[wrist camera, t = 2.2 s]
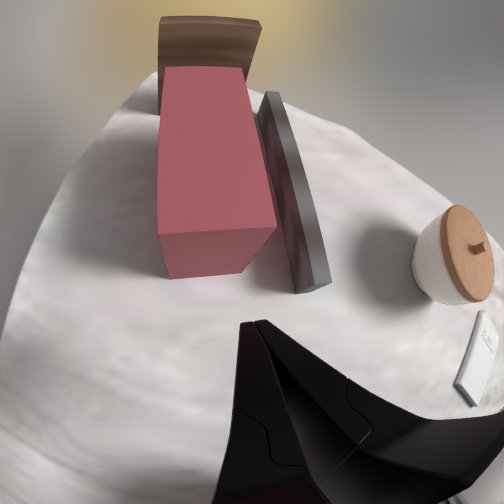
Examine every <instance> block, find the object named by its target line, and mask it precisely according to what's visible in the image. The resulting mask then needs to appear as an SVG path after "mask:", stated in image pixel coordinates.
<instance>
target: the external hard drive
mask: <svg viewBox="0 0 504 504" xmlns="http://www.w3.org/2000/svg"><path fill="white" fill-rule="evenodd" d="M498 341H499V335H498V333H497V331H496V330H495V328H494V326H493V324H492V322H491V321H490V319H489V317H488V315H487V314H486V312H485V311H484V310H480V311H479V315H478V318H477V322H476V325H475V329H474V332H473V335H472V339H471V342H470V345H469V348H468V351H467V354H466V356H465V359H464V362H463V364H462V367H461V370H460V372H459V375H458V377H457V380H456V382H455V384H456V386H457V387H458V388H459V389H460V391H461V392H462V393H463V394H464V396H465V397H466V398H467V399H468V401H469V402H470V403H471V404H472V406H478V403H479V401H480V398H481V396H482V393H483V390H484V387H485V385H486V382H487V379H488V376H489V373H490V370H491V367H492V363H493V360H494V356H495V353H496V349H497V345H498Z"/></svg>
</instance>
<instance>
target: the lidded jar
mask: <svg viewBox="0 0 504 504" xmlns="http://www.w3.org/2000/svg"><path fill="white" fill-rule="evenodd" d="M412 271H413V275H414V278H415V281H416V283H417V285H418V286H419V288H420V289H421V290H422V291H423V292H424V293H426V294H427V295H428V296H429V297H430V298H432V299H433V300H435V301H436V302H439V303H441V304H445V305H464V304H469V303H475V302H481V301H483V300H485V299H486V298H487V297H488V296H489V294H490V293H491V290H492V287H493V283H494V260H493V254H492V250H491V246H490V243H489V240H488V238H487V235H486V233H485V231H484V229H483V227H482V225H481V224H480V222H479V220H478V219H477V218H476V217H475V215H474V214H473V213H472V212H471V211H470V210H468V209H467V208H466V207H464V206H461V205H454V206H452V207H450V208H449V209H447V210H446V211H445V212H444V213H443V214H441V215H440V216H438V217H437V218H435V219H434V220H433V221H432V222H430V223H429V224H428V225H427V226H426V228H425V229H424V230H423V231H422V233H421V234H420V236H419V238H418V240H417V243H416V246H415V251H414V254H413V258H412Z"/></svg>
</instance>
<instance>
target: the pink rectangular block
mask: <svg viewBox="0 0 504 504" xmlns="http://www.w3.org/2000/svg"><path fill="white" fill-rule="evenodd" d="M157 225H158V237H159V241H160V245H161V249H162V253H163V256H164V260H165V263H166V267H167V271H168V274H169V277H170V279H181V278H193V277H204V276H215V275H226V274H236V273H242V271H243V270H244V269H245V268H246V266H247V265H248V264H249V262H250V261H251V260H252V259H253V257H254V256H255V255H256V253H257V252H258V251H259V250H260V248H261V247H262V246H263V245H264V243H265V242H266V241H267V239H268V238H269V237H270V236H271V234H272V233H273V232H274V230H275V229H276V228H277V222H276V217H275V212H274V207H273V202H272V198H271V193H270V188H269V183H268V179H267V174H266V169H265V165H264V160H263V156H262V151H261V147H260V142H259V138H258V133H257V129H256V125H255V120H254V116H253V112H252V108H251V104H250V99H249V95H248V91H247V87H246V83H245V79H244V75H243V71H242V68H235V67H214V66H179V67H165V75H164V83H163V92H162V103H161V114H160V127H159V144H158V170H157Z"/></svg>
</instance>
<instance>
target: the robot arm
mask: <svg viewBox="0 0 504 504" xmlns="http://www.w3.org/2000/svg"><path fill="white" fill-rule="evenodd" d="M211 504H504V407H503V408H502V409H501V410H500V411H499V412H498V413H496V414H493V415H488V416H481V417H472V418H462V419H447V420H432V419H426V418H423V417H420V416H417V415H415V414H413V413H411V412H408V411H406V410H404V409H402V408H400V407H398V406H396V405H394V404H392V403H390V402H388V401H386V400H384V399H382V398H380V397H378V396H376V395H375V394H373V393H371V392H369V391H368V390H366V389H365V388H363V387H361V386H360V385H358V384H357V383H355V382H354V381H352V380H351V379H349V378H348V379H347V377H346V376H345V375H343V374H342V373H340V372H339V371H337V370H336V369H334V368H333V367H332V366H330V365H329V364H327V363H326V362H324V361H323V360H321V359H320V358H319V357H317V356H316V355H314V354H313V353H312V352H310V351H309V350H307V349H306V348H305V347H303V346H302V345H300V344H299V343H298V342H296V341H295V340H294V339H292V338H291V337H289V336H288V335H287V334H285V333H284V332H283V331H281V330H280V329H279V328H277V327H276V326H274V325H273V324H272V323H270V322H269V321H268V320H265V319H264V320H257V321H254V322H252V321H250V322H243V323H241V324H240V330H239V341H238V352H237V363H236V375H235V386H234V398H233V409H232V419H231V427H230V435H229V439H228V444H227V448H226V452H225V456H224V460H223V463H222V467H221V471H220V474H219V478H218V482H217V485H216V489H215V492H214V495H213V499H212V502H211Z"/></svg>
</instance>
